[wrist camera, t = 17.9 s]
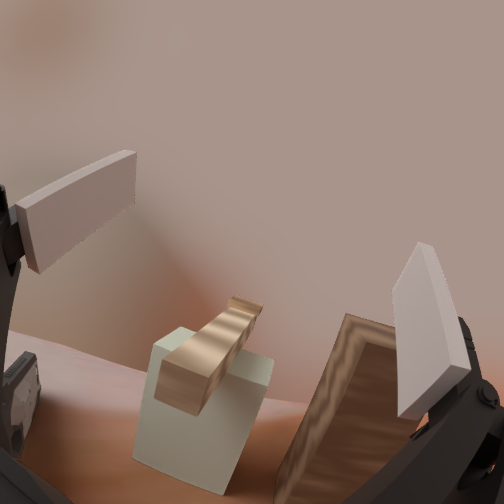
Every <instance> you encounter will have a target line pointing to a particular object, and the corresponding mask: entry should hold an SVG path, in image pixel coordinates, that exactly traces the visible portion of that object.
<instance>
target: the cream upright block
mask: <svg viewBox="0 0 504 504" xmlns="http://www.w3.org/2000/svg"><path fill="white" fill-rule="evenodd" d="M195 333H196V332H193V331H191V330H188V329H185V328H183V327H179V328H178V329H176V330H175V331H173V332H172V333H170V334H168V335H167V336H165V337H163V338H162V339H160V340H159V341H157V342H156V343H154V345H153V349H152V353H151V358H150V363H149V367H148V372H147V377H146V382H145V387H144V392H143V397H142V403H141V408H140V413H139V419H138V425H137V431H136V437H135V443H134V449H133V456H132V458H133V459H135V460H137V461H139V462H141V463H143V464H145V465H147V466H149V467H151V468H153V469H155V470H158V471H160V472H162V473H164V474H166V475H169V476H171V477H173V478H176V479H178V480H181V481H183V482H186V483H188V484H191V485H193V486H196V487H199V488H201V489H204V490H207V491H210V492H213V493H215V494H218V495H221V496H223V494H224V492H225V490H226V487H227V485H228V483H229V481H230V478H231V476H232V474H233V472H234V469H235V467H236V465H237V462H238V460H239V458H240V455H241V453H242V450H243V448H244V446H245V443H246V441H247V438H248V436H249V434H250V431H251V429H252V426H253V424H254V421H255V419H256V416H257V414H258V411H259V409H260V406H261V403H262V401H263V398H264V396H265V393H266V390H267V388H268V385H269V381H270V376H271V373H272V368H273V364H274V360H273V359H270V358H267V357H264V356H261V355H258V354H255V353H252V352H249V351H246V350H243V349H241V350H240V351H239V353H238V354H237V356H236V358H235V359H234V361H233V362H232V364H231V366H230V367H229V369H228V370H227V372H226V373H225V375H224V377H223V378H222V380H221V381H220V383H219V384H218V386H217V387H216V389H215V391H214V392H213V394H212V395H211V397H210V398H209V400H208V401H207V403H206V404H205V406H204V407H203V409H202V410H201V412H200V413H199V415H198V416H197V417H195V416H193V415H190V414H188V413H186V412H183V411H181V410H178V409H176V408H174V407H172V406H169V405H167V404H165V403H163V402H160V401H158V400H156V399H154V393H155V389H156V384H157V380H158V375H159V371H160V366H161V362H162V359H163V358H164V357H165V356H167V355H168V354H169V353H171V352H172V351H173V350H175V349H176V348H177V347H179V346H180V345H181V344H182V343H184V342H185V341H186V340H188V339H189V338H190V337H192V336H193V335H194V334H195Z"/></svg>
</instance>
